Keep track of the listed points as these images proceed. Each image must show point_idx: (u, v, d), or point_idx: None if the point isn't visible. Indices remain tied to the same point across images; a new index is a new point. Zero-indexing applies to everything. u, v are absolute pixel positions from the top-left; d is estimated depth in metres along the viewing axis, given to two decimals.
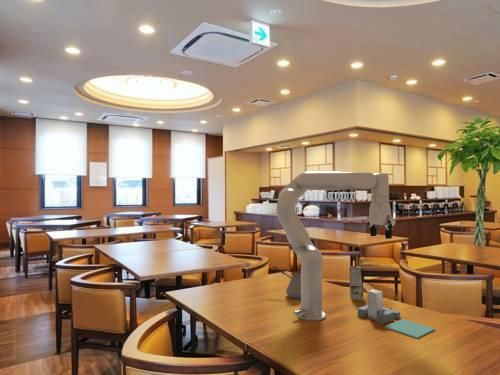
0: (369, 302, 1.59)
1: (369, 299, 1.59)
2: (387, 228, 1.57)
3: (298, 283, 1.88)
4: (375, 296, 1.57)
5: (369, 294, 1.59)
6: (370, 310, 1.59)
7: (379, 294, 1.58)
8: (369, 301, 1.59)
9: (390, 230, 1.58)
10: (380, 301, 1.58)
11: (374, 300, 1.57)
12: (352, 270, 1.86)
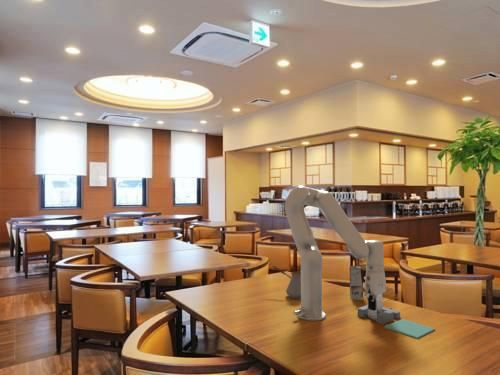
0: None
1: None
2: (382, 297, 1.60)
3: (298, 283, 1.88)
4: (375, 296, 1.57)
5: None
6: (370, 310, 1.59)
7: (379, 294, 1.58)
8: None
9: None
10: (380, 301, 1.58)
11: (374, 300, 1.57)
12: (352, 270, 1.86)
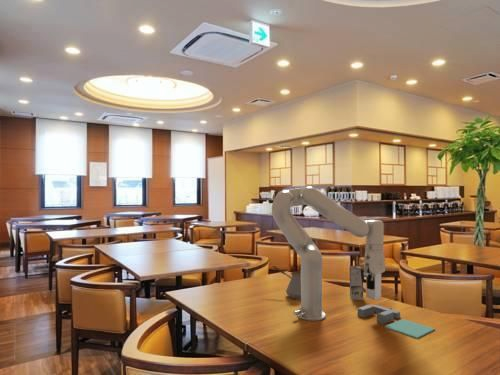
0: None
1: None
2: None
3: (299, 283, 1.88)
4: (374, 275, 1.57)
5: None
6: (369, 289, 1.59)
7: None
8: None
9: None
10: (379, 281, 1.58)
11: (373, 279, 1.57)
12: (352, 270, 1.86)
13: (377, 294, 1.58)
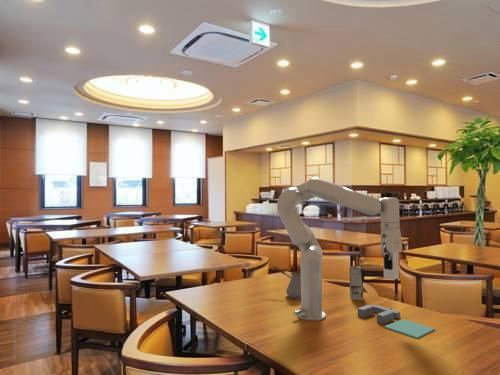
0: None
1: None
2: None
3: (299, 283, 1.88)
4: (392, 254, 1.51)
5: None
6: (386, 270, 1.53)
7: (395, 253, 1.52)
8: None
9: None
10: (396, 260, 1.52)
11: None
12: (352, 270, 1.86)
13: (396, 274, 1.52)
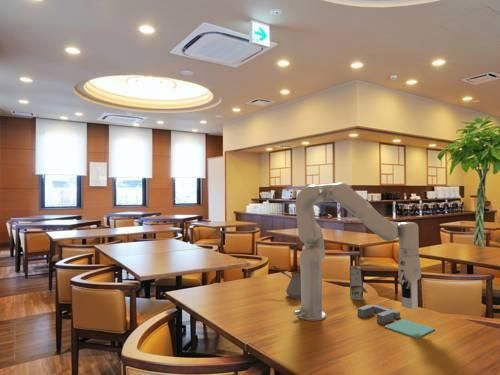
0: None
1: None
2: None
3: (298, 283, 1.88)
4: (410, 282, 1.44)
5: None
6: (404, 298, 1.46)
7: None
8: None
9: None
10: (415, 288, 1.45)
11: (409, 287, 1.44)
12: (352, 270, 1.86)
13: (414, 303, 1.45)
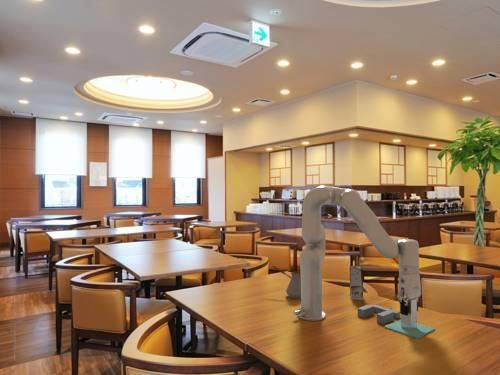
0: None
1: None
2: (418, 300, 1.48)
3: (298, 283, 1.88)
4: (410, 304, 1.44)
5: None
6: (403, 319, 1.46)
7: (414, 301, 1.45)
8: None
9: None
10: (414, 309, 1.45)
11: (408, 308, 1.44)
12: (352, 270, 1.86)
13: (413, 324, 1.45)
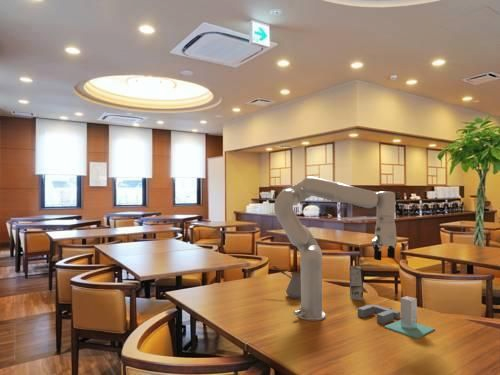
0: (402, 310, 1.46)
1: (402, 307, 1.46)
2: (394, 247, 1.57)
3: (298, 283, 1.88)
4: (410, 304, 1.44)
5: (402, 301, 1.46)
6: (403, 319, 1.46)
7: (414, 301, 1.45)
8: (402, 309, 1.46)
9: None
10: (414, 309, 1.45)
11: (408, 308, 1.44)
12: (352, 270, 1.86)
13: (413, 324, 1.45)
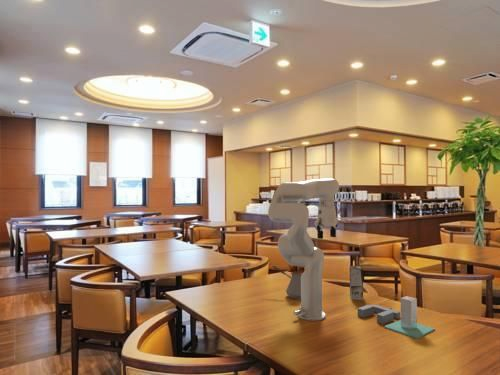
0: (402, 310, 1.46)
1: (402, 307, 1.46)
2: (336, 228, 1.83)
3: (298, 283, 1.88)
4: (410, 304, 1.44)
5: (402, 301, 1.46)
6: (403, 319, 1.46)
7: (414, 301, 1.45)
8: (402, 309, 1.46)
9: None
10: (414, 309, 1.45)
11: (408, 308, 1.44)
12: (352, 270, 1.86)
13: (413, 324, 1.45)
